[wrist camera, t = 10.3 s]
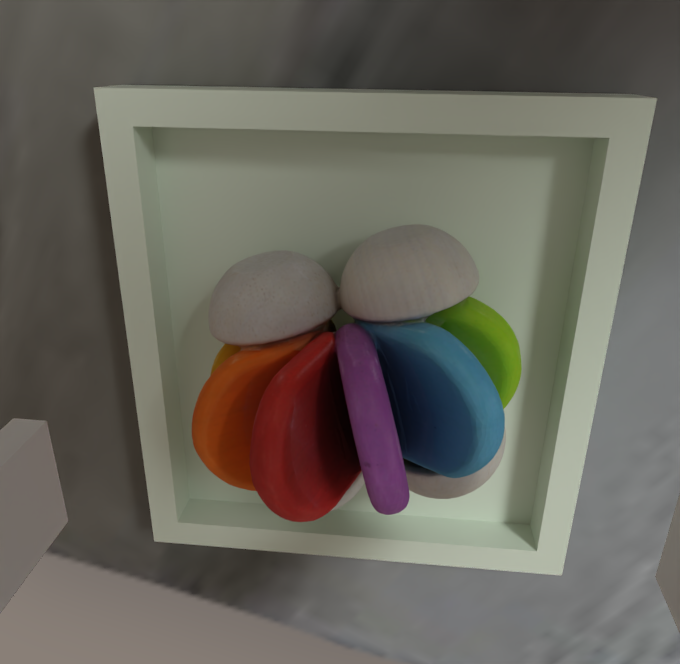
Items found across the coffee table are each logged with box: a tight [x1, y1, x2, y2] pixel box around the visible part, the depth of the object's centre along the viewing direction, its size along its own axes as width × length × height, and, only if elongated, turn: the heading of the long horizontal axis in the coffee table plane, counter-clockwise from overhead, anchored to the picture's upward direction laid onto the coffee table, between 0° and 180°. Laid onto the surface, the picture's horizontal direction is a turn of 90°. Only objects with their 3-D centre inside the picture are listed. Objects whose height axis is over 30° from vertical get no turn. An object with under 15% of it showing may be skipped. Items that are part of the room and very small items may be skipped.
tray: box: [94, 85, 657, 575], centre depth 21 cm, size 16×15×2 cm
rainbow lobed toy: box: [192, 224, 522, 522], centre depth 18 cm, size 8×10×7 cm
